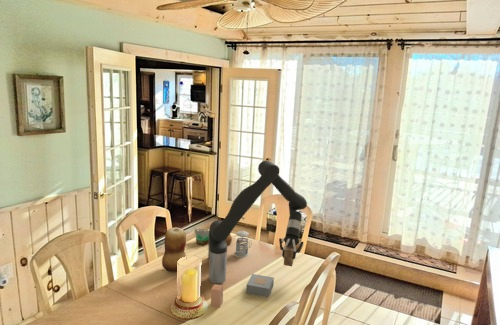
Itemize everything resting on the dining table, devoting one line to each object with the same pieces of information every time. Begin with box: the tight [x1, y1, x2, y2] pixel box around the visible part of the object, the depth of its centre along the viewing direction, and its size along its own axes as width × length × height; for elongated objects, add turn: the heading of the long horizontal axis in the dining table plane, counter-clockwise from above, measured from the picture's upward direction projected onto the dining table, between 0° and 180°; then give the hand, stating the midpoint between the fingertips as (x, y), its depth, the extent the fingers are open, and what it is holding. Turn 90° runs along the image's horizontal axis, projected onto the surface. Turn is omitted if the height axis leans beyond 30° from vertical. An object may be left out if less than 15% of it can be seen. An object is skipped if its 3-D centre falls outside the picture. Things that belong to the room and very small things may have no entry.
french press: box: [233, 216, 252, 258], centre depth 226 cm, size 10×12×25 cm
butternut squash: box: [161, 227, 187, 273], centre depth 202 cm, size 14×13×25 cm
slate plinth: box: [245, 273, 275, 298], centre depth 188 cm, size 12×12×5 cm
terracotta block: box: [210, 283, 224, 308], centre depth 173 cm, size 4×4×9 cm
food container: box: [193, 227, 209, 246], centre depth 240 cm, size 12×6×10 cm, turn 81°
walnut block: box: [283, 246, 294, 267], centre depth 193 cm, size 4×4×9 cm
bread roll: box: [226, 233, 233, 245], centre depth 246 cm, size 10×15×8 cm, turn 35°
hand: (288, 258), depth 191 cm, fingers closed on walnut block, 4 cm apart
